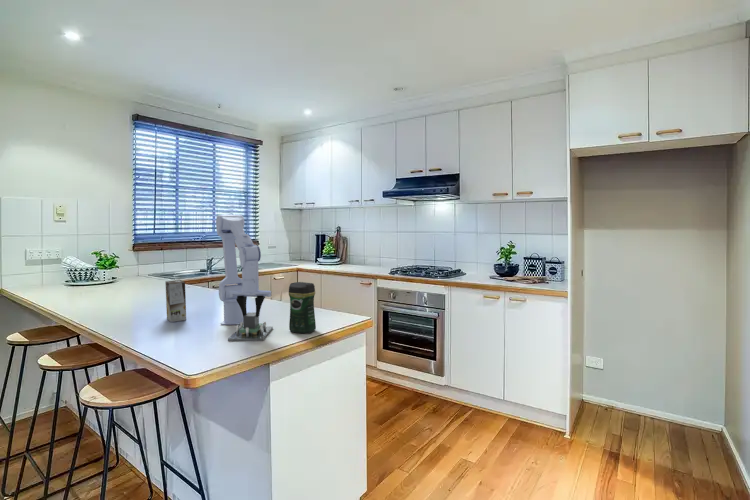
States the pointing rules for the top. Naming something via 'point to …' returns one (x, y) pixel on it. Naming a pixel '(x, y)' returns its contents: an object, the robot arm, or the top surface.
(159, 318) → the top surface
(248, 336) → the peg board with balls
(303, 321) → the coffee jar
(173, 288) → the coffee box
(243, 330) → the grey block
